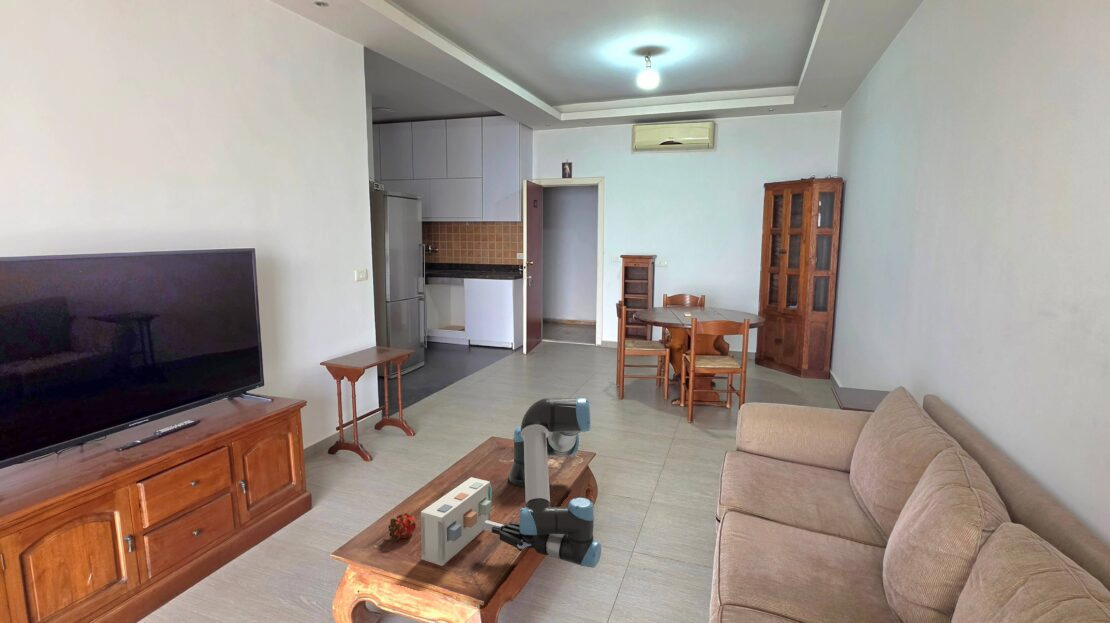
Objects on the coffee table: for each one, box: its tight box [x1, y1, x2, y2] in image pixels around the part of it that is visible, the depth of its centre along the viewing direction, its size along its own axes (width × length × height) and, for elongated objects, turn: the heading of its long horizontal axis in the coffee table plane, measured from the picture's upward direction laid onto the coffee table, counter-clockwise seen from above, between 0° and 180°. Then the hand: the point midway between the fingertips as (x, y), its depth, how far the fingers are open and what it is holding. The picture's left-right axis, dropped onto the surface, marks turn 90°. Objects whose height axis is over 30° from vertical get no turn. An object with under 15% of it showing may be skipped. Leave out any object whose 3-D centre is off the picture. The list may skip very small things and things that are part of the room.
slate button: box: [447, 523, 462, 541], centre depth 174 cm, size 4×5×4 cm
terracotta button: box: [463, 511, 477, 528], centre depth 182 cm, size 4×5×4 cm
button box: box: [420, 476, 491, 567], centre depth 184 cm, size 28×8×16 cm, turn 155°
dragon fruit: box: [388, 512, 417, 541], centre depth 187 cm, size 8×8×12 cm
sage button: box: [479, 499, 492, 515], centre depth 190 cm, size 4×5×4 cm
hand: (485, 525), depth 179 cm, fingers closed
